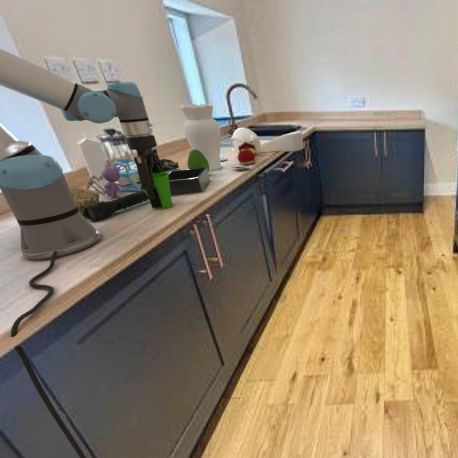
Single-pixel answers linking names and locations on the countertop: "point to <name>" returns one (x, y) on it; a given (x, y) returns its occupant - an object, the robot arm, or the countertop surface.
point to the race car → (169, 164)
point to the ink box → (133, 177)
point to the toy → (223, 159)
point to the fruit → (197, 160)
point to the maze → (96, 184)
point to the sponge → (84, 198)
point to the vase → (203, 132)
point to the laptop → (240, 167)
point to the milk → (93, 160)
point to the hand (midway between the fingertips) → (162, 202)
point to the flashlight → (114, 205)
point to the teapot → (244, 139)
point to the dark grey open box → (188, 181)
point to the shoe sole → (283, 143)
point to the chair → (127, 174)
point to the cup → (162, 188)
